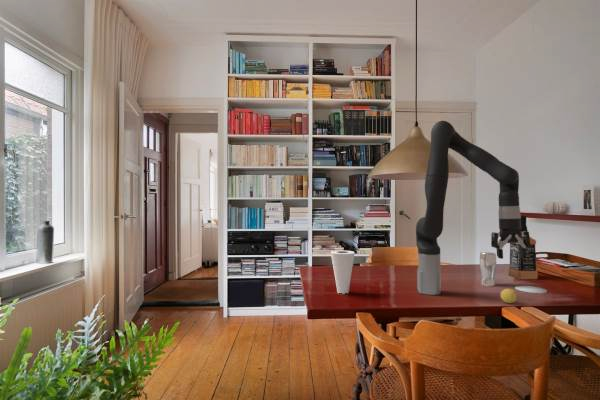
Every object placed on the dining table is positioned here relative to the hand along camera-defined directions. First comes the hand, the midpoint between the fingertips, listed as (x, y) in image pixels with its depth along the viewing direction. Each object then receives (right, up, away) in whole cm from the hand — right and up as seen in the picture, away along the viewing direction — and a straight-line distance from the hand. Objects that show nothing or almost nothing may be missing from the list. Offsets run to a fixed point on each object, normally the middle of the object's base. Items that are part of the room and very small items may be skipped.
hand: (511, 257), depth 137 cm
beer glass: (+6, -18, +28) cm, 33 cm away
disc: (+20, -17, +18) cm, 32 cm away
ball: (-2, -15, -2) cm, 15 cm away
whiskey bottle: (+32, -17, +42) cm, 56 cm away
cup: (-65, -18, +16) cm, 70 cm away
